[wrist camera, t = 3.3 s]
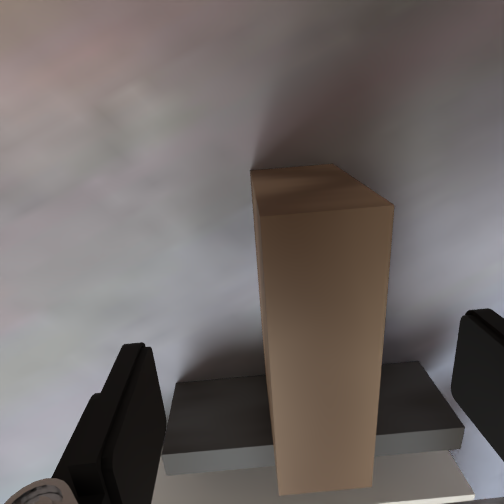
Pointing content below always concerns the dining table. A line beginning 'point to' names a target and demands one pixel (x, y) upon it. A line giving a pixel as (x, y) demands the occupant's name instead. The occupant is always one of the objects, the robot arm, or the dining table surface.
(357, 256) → the scraper
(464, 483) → the board
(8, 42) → the dining table surface
